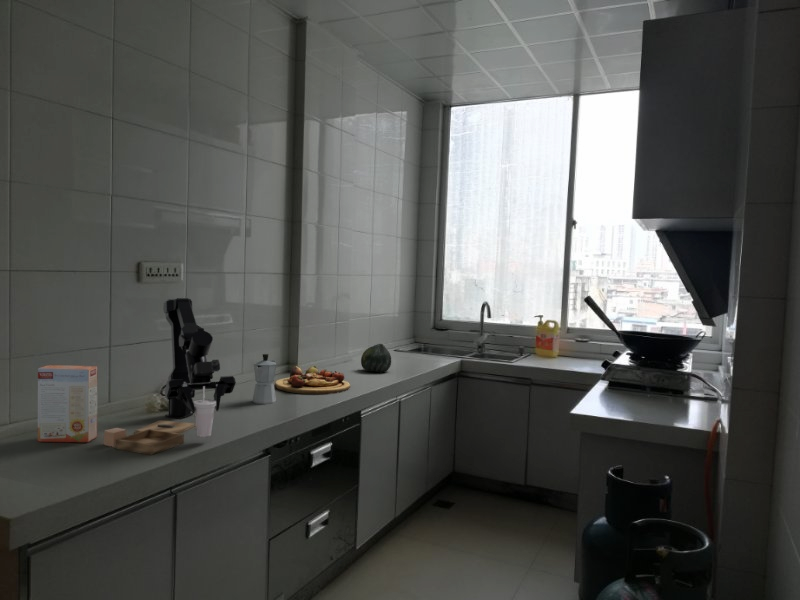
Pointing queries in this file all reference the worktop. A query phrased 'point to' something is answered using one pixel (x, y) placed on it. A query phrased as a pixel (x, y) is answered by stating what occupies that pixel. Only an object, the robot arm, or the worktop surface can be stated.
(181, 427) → the lid
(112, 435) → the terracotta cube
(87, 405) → the cracker box
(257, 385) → the coffee maker
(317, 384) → the wooden plate with food
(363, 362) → the squash
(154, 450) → the wooden tray
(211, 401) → the smoothie
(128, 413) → the worktop surface
